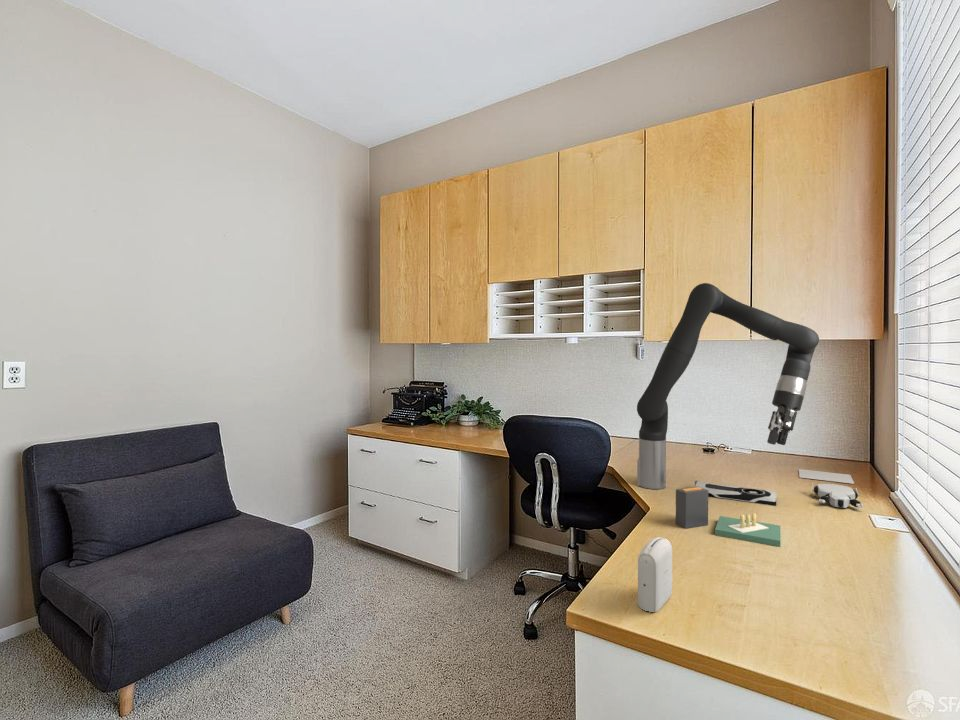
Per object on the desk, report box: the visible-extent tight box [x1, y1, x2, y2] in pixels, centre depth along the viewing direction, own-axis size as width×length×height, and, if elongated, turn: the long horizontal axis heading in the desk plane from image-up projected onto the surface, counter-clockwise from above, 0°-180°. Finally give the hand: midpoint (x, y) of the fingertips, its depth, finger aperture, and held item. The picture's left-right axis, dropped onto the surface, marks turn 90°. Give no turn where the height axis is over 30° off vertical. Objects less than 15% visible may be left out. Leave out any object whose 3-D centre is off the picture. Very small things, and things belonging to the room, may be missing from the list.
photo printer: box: [637, 536, 673, 613], centre depth 98 cm, size 10×4×12 cm, turn 140°
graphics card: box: [694, 480, 778, 507], centre depth 163 cm, size 10×3×25 cm
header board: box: [714, 512, 781, 548], centre depth 132 cm, size 15×12×5 cm
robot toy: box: [811, 482, 864, 509], centre depth 156 cm, size 12×4×15 cm
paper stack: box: [798, 468, 855, 485], centre depth 184 cm, size 23×25×1 cm
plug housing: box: [675, 486, 709, 530], centre depth 138 cm, size 8×4×10 cm, turn 108°
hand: (775, 444), depth 146 cm, fingers open, 8 cm apart
